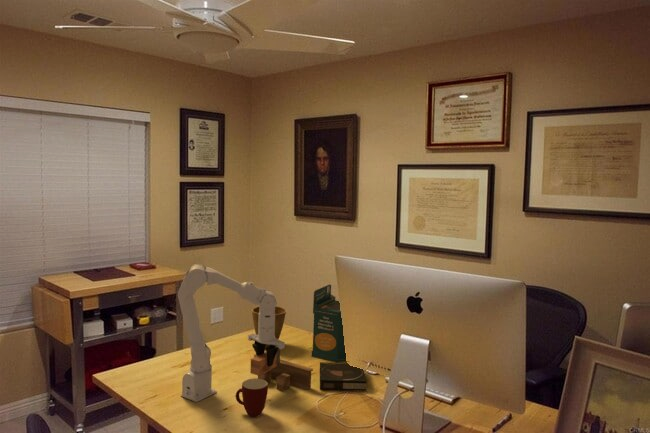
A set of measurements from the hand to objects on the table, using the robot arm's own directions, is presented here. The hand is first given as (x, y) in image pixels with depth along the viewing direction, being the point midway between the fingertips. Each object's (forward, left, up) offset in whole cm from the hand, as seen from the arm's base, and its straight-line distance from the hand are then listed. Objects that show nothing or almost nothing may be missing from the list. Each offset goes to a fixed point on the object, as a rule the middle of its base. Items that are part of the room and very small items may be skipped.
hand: (265, 364), depth 171 cm
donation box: (+45, -3, -10) cm, 46 cm away
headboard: (+7, 0, -9) cm, 12 cm away
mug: (-16, -7, -10) cm, 20 cm away
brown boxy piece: (0, 0, -2) cm, 2 cm away
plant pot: (+36, +27, -10) cm, 46 cm away
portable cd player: (+23, -18, -10) cm, 31 cm away
